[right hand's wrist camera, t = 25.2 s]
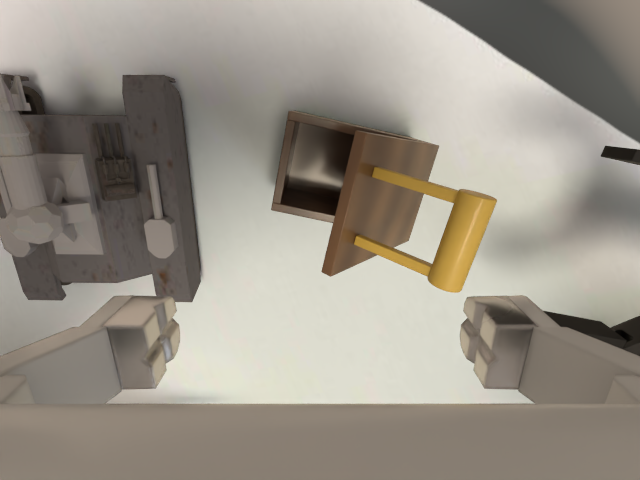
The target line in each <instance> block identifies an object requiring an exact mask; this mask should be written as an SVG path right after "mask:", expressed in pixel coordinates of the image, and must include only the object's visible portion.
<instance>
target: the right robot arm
mask: <svg viewBox="0 0 640 480" xmlns="http://www.w3.org/2000/svg"><path fill="white" fill-rule="evenodd" d="M176 311H177V310H176V305H175V300H174V299H173V298H172V297H170V296H134V295H132V296H114V297H113V298H111V299H110V300H109V301H108V302H107V303H106V304H105V305H104V306H102V307H101V308H100V309H99V310H98V311H97V312H96V313H95V314H93V315H92V316H91V317H90V318H89V319H88V320H87V321H86V322H84V323H83V324H82V325H81V326H80V327H72V328H70V329H67V330H65V331H62V332H60V333H57V334H55V335H52V336H50V337H47V338H45V339H42V340H40V341H37V342H35V343H32V344H30V345H27V346H25V347H22V348H20V349H17V350H15V351H12V352H10V353H7V354H5V355H2V356H0V480H640V356H638V355H635V354H633V353H630V352H628V351H625V350H623V349H620V348H618V347H615V346H613V345H610V344H608V343H605V342H603V341H600V340H598V339H595V338H593V337H590V336H588V335H585V334H583V333H580V332H578V331H575V330H573V329H570V328H568V327H560V326H559V325H558V324H557V323H556V322H555V321H553V320H552V319H551V318H550V317H549V316H548V315H547V314H546V313H544V312H543V311H542V310H541V309H540V308H539V307H538V306H537V305H535V304H534V303H533V302H532V301H531V300H530V299H529V298H528V297H526V296H522V295H519V296H477V297H467V299H466V301H465V304H464V310H463V311H464V313H465V314H466V316H467V317H468V318H467V319H466V320H465V321H464V322H463V323H462V324H461V330H460V342H461V347H462V350H463V353H464V355H465V357H466V358H467V359H468V360H470V361H471V362H473V363H474V372H475V374H476V375H477V377H478V379H479V380H480V382H481V384H482V385H483V387H484V389H519V390H518V391H519V392H521V393H522V394H523V395H525V396H526V397H527V398H529V399H530V400H531V401H533V402H534V403H535V404H105V403H106V402H107V401H109V400H110V399H112V398H113V397H114V396H116V395H117V394H118V393H120V392H121V389H155V388H156V387H157V385H158V384H159V382H160V380H161V379H162V377H163V375H164V374H165V372H166V363H167V362H169V361H170V360H172V359H173V358H174V357H175V355H176V353H177V351H178V347H179V343H180V329H179V324H178V323H177V322H176V321H175V320H174V319H173V318H172V317H173V316H174V314H175V313H176Z"/></svg>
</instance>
